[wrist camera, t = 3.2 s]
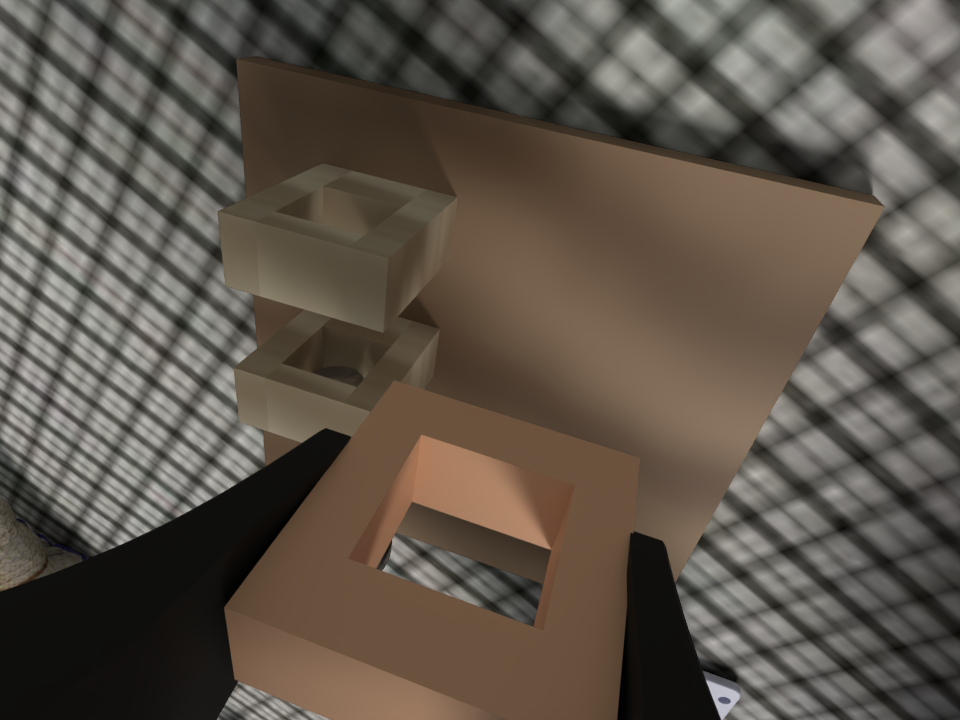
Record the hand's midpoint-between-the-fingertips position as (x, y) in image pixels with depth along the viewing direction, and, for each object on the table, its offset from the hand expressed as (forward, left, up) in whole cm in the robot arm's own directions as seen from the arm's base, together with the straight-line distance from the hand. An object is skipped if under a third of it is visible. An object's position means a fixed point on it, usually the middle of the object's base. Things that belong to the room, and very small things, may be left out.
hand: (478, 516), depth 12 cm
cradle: (-3, +2, -9) cm, 10 cm away
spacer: (0, 0, -2) cm, 2 cm away
